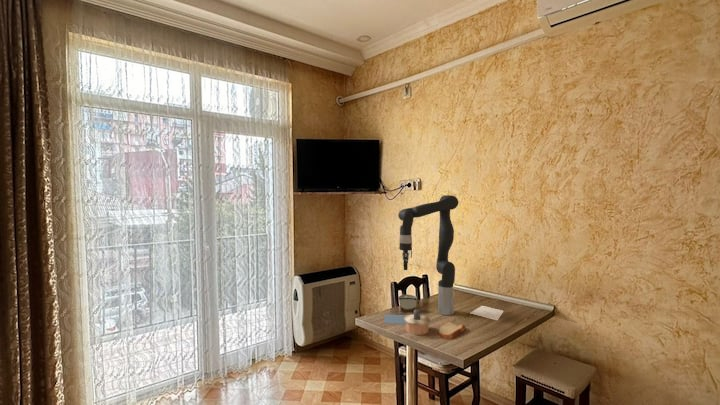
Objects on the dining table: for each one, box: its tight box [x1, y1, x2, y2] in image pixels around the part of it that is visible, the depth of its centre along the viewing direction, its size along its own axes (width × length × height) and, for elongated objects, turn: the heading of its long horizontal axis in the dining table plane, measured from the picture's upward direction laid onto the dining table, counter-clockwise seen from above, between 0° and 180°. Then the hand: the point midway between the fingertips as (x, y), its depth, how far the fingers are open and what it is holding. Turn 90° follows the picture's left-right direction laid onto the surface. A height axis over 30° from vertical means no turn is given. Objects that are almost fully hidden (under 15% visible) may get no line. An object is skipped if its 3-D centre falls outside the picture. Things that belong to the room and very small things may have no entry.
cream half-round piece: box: [397, 294, 419, 313], centre depth 212 cm, size 12×6×10 cm, turn 84°
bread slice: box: [437, 321, 466, 340], centre depth 179 cm, size 18×18×4 cm
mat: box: [383, 313, 408, 325], centre depth 196 cm, size 15×15×1 cm
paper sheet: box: [469, 305, 504, 321], centre depth 206 cm, size 24×29×1 cm
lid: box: [404, 309, 431, 325], centre depth 179 cm, size 14×14×5 cm
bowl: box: [405, 322, 429, 337], centre depth 179 cm, size 12×12×6 cm
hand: (405, 268), depth 200 cm, fingers open, 8 cm apart
